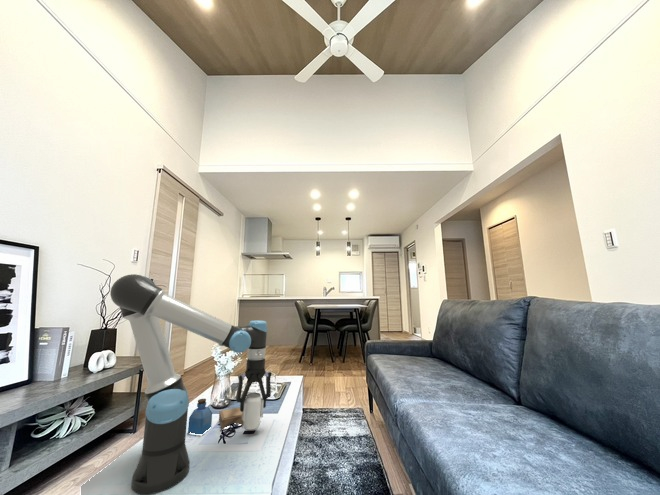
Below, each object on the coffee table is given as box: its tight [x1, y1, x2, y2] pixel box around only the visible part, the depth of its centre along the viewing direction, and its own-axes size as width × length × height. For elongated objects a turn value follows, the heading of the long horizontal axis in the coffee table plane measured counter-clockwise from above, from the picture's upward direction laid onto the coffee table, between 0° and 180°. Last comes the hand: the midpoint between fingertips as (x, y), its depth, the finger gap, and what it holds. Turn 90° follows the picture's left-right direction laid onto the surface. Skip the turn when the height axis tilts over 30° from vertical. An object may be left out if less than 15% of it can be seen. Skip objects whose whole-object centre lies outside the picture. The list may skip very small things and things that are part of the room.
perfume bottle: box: [187, 398, 213, 434], centre depth 111 cm, size 6×6×12 cm
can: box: [242, 392, 262, 431], centre depth 110 cm, size 6×6×12 cm
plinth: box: [218, 406, 244, 429], centre depth 117 cm, size 10×10×4 cm
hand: (252, 417), depth 109 cm, fingers closed on can, 6 cm apart
